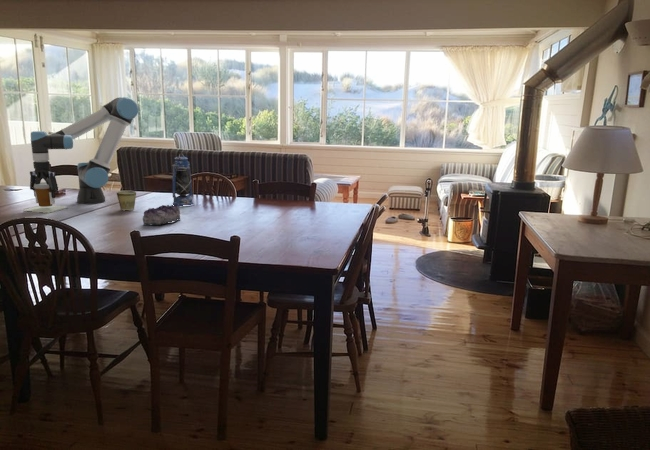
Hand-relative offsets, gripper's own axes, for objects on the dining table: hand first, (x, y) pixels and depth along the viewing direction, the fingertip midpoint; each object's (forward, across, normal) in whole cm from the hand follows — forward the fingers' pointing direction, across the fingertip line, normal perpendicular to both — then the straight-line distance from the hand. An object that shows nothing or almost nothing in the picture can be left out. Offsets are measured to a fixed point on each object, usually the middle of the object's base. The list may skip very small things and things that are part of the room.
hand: (45, 203), depth 267 cm
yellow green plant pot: (+4, -40, -15) cm, 43 cm away
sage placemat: (+3, 0, 0) cm, 3 cm away
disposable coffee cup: (+2, 0, 0) cm, 2 cm away
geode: (+4, -73, +8) cm, 74 cm away
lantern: (+4, -61, -37) cm, 71 cm away
